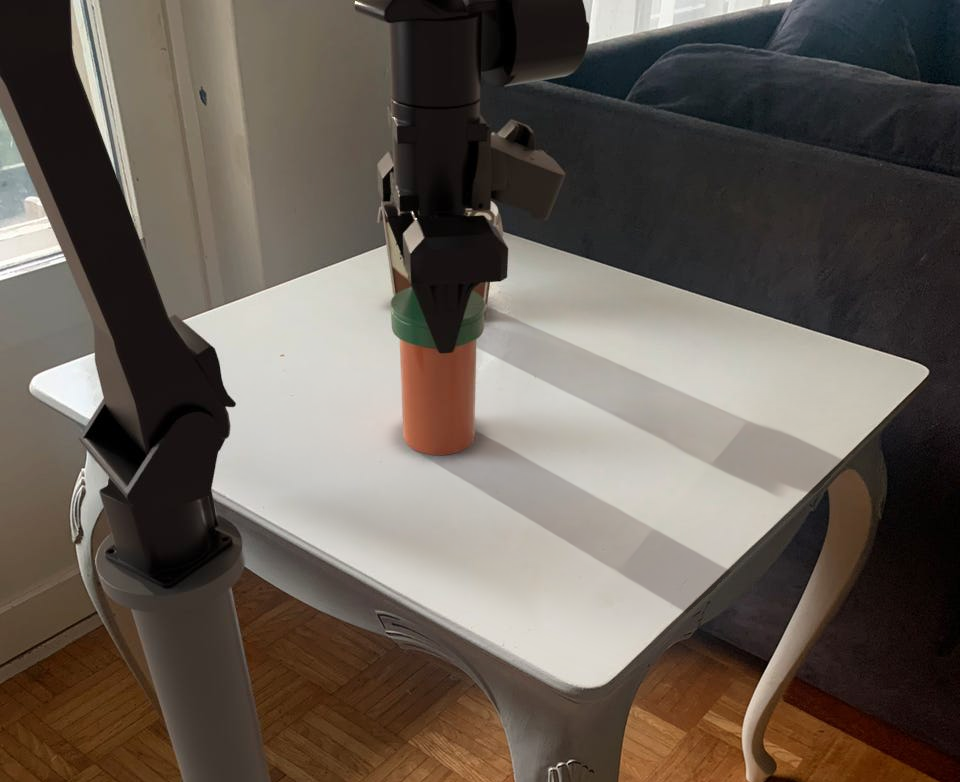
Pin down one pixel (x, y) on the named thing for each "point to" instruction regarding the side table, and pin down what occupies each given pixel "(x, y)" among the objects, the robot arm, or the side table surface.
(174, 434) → the robot arm
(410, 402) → the jar
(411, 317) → the green cylinder
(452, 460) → the side table surface
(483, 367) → the side table surface
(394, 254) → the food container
